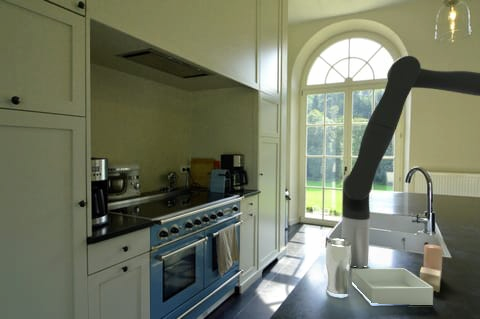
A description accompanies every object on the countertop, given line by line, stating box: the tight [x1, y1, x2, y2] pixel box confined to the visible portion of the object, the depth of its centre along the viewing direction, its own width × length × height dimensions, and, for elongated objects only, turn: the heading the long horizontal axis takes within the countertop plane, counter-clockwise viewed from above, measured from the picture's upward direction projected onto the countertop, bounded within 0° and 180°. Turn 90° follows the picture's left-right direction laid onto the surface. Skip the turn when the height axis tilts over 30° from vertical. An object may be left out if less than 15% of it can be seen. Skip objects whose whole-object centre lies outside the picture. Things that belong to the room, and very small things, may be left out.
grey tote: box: [351, 267, 434, 305], centre depth 86 cm, size 17×13×5 cm
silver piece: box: [325, 238, 351, 294], centre depth 86 cm, size 7×7×15 cm
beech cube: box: [419, 266, 442, 293], centre depth 91 cm, size 5×5×5 cm
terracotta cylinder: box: [423, 243, 443, 280], centre depth 99 cm, size 5×5×10 cm
